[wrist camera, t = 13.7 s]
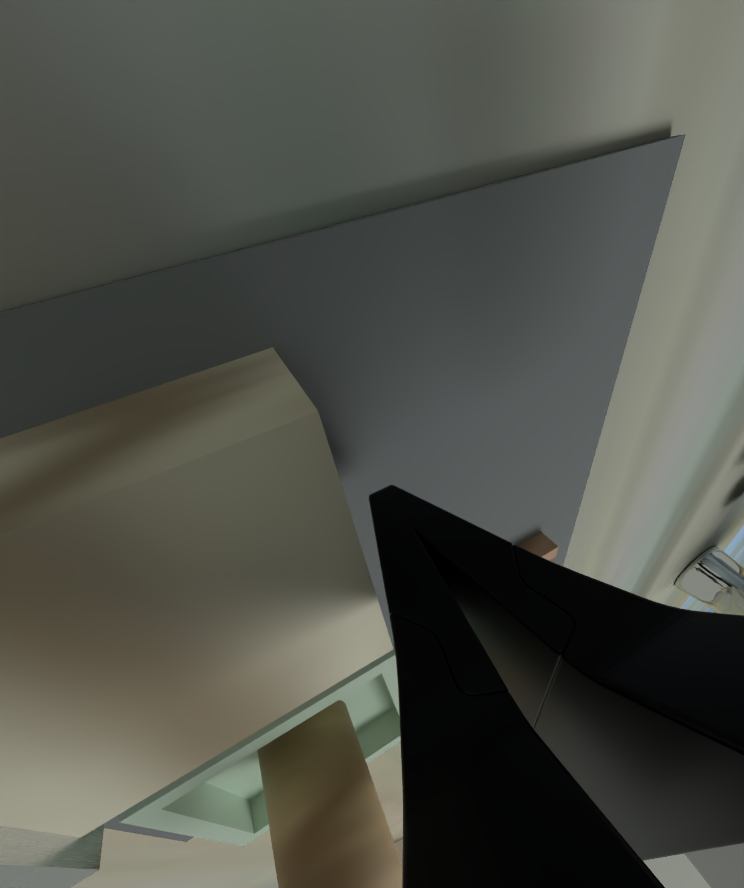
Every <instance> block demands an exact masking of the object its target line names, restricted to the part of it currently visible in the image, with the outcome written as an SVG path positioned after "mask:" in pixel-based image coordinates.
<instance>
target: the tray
mask: <svg viewBox="0 0 744 888" xmlns="http://www.w3.org/2000/svg"><path fill="white" fill-rule="evenodd" d="M390 640H391V639H390ZM391 643H392V641H391ZM392 646H393V650H391V651H390V652H388V653H386V654H385V655H383V656H381V657H380V658H378V659H376V660H375V661H373V662H371V663H370V664H368V665H366V666H365V667H363V668H361V669H360V670H358V671H356V672H355V673H353V674H351V675H350V676H348V677H346V678H345V679H343V680H341V681H340V682H338V683H337V684H335V685H333V686H332V687H330V688H328V689H327V690H325V691H323V692H322V693H320V694H318V695H317V696H315V697H313V698H312V699H310V700H308V701H307V702H305V703H303V704H302V705H300V706H298V707H297V708H295V709H293V710H292V711H290V712H288V713H287V714H285V715H283V716H282V717H280V718H278V719H277V720H275V721H273V722H272V723H270V724H268V725H267V726H265V727H263V728H262V729H260V730H258V731H257V732H255V733H253V734H252V735H250V736H248V737H247V738H245V739H243V740H242V741H240V742H238V743H237V744H235V745H233V746H232V747H230V748H229V749H227V750H225V751H224V752H222V753H220V754H219V755H217V756H215V757H214V758H212V759H210V760H209V761H207V762H205V763H204V764H202V765H200V766H199V767H197V768H195V769H194V770H192V771H190V772H189V773H187V774H185V775H184V776H182V777H180V778H179V779H177V780H175V781H174V782H172V783H170V784H169V785H167V786H165V787H164V788H162V789H160V790H159V791H157V792H155V793H154V794H152V795H150V796H149V797H147V798H145V799H144V800H142V801H140V802H139V803H137V804H135V805H134V806H132V807H130V808H129V809H127V810H125V811H124V812H122V813H120V819H119V823H124V824H130V825H135V826H140V827H145V828H150V829H156V830H161V831H166V832H171V833H176V834H181V835H187V836H192V837H197V838H202V839H207V840H213V841H218V842H223V843H228V844H233V845H239V846H246V845H247V844H249V843H250V842H252V841H253V840H255V839H256V838H258V837H259V836H261V835H262V834H264V833H265V832H267V831H268V830H270V829H269V822H268V816H267V809H266V803H265V797H264V790H263V784H262V778H261V771H260V765H259V759H258V752H257V750H258V749H260V748H261V747H263V746H265V745H266V744H268V743H269V742H271V741H273V740H274V739H276V738H278V737H279V736H281V735H282V734H284V733H286V732H287V731H289V730H291V729H292V728H294V727H295V726H297V725H299V724H300V723H302V722H304V721H305V720H307V719H308V718H310V717H312V716H313V715H315V714H317V713H318V712H320V711H321V710H323V709H325V708H326V707H328V706H330V705H331V704H333V703H334V702H336V701H338V700H341V701H343V702H344V703H345V704H346V706H347V709H348V712H349V715H350V718H351V721H352V724H353V726H354V729H355V732H356V735H357V738H358V741H359V744H360V746H361V749H362V752H363V755H364V758H365V761H366V764H367V763H368V762H370V761H371V760H373V759H374V758H376V757H377V756H379V755H380V754H382V753H383V752H385V751H386V750H388V749H389V748H391V747H392V746H394V745H395V744H396V743H398V742H399V741H401V738H400V717H399V696H398V680H397V667H396V656H395V649H394V645H393V643H392Z"/></svg>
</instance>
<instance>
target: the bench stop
mask: <svg viewBox="0 0 744 888" xmlns="http://www.w3.org/2000/svg"><path fill="white" fill-rule="evenodd" d="M103 830H104V824H102V825H101V826H99V827H97V828H96V829H94V830H92V831H91V832H89V833H87V834H86V835H84V836H82V837H75V836H68V835H60V834H53V833H46V832H39V831H32V830H24V829H17V828H10V827H3V826H0V888H71V887H72V886H74V885H76V884H77V883H79V882H80V881H82V880H84V879H85V878H87V877H88V876H90V875H92V874H93V873H95V872H96V871H98V870H99V867H100V858H101V848H102V839H103Z"/></svg>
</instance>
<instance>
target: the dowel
mask: <svg viewBox="0 0 744 888" xmlns="http://www.w3.org/2000/svg"><path fill="white" fill-rule="evenodd" d="M257 752H258V759H259V765H260V771H261V778H262V784H263V790H264V797H265V803H266V809H267V816H268V822H269V829H270V835H271V841H272V848H273V854H274V860H275V867H276V873H277V880H278V885H279V888H402V868H403V867H402V864H401V861H400V858H399V855H398V852H397V850H396V847H395V844H394V841H393V838H392V835H391V832H390V830H389V827H388V824H387V821H386V818H385V815H384V812H383V809H382V807H381V804H380V801H379V798H378V795H377V792H376V789H375V787H374V784H373V781H372V778H371V775H370V772H369V769H368V767H367V764H366V761H365V758H364V755H363V752H362V749H361V746H360V744H359V741H358V738H357V735H356V732H355V729H354V726H353V724H352V721H351V718H350V715H349V712H348V709H347V706H346V704H345V703H344V702H343V701H341V700H338V701H336V702H334V703H333V704H331V705H330V706H328V707H326V708H325V709H323V710H321V711H320V712H318V713H317V714H315V715H313V716H312V717H310V718H308V719H307V720H305V721H304V722H302V723H300V724H299V725H297V726H295V727H294V728H292V729H291V730H289V731H287V732H286V733H284V734H282V735H281V736H279V737H278V738H276V739H274V740H273V741H271V742H269V743H268V744H266V745H265V746H263V747H261V748H260V749H258V750H257Z"/></svg>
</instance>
